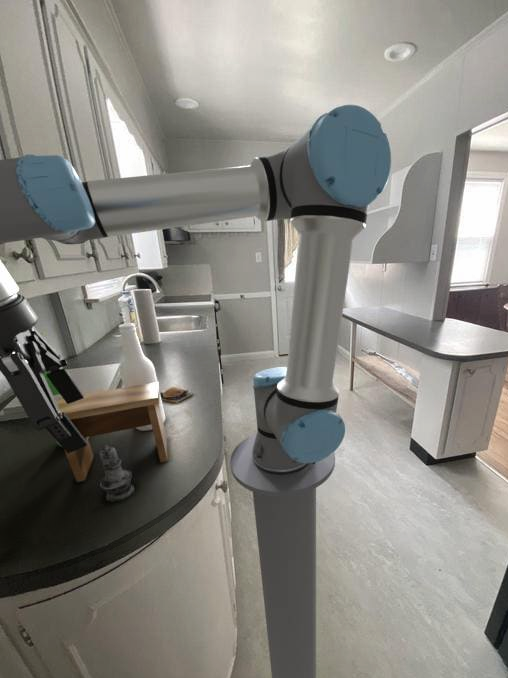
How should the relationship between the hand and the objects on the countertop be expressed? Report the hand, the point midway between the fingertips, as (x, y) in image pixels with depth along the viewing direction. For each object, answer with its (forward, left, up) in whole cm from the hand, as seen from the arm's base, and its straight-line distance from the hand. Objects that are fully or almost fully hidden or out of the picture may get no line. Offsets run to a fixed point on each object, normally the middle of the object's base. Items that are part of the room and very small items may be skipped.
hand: (76, 421), depth 51 cm
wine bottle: (+28, -23, -21) cm, 42 cm away
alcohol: (+12, -34, -21) cm, 41 cm away
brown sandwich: (+14, -53, -21) cm, 58 cm away
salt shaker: (+2, -6, -21) cm, 22 cm away
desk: (+8, -17, -21) cm, 28 cm away
